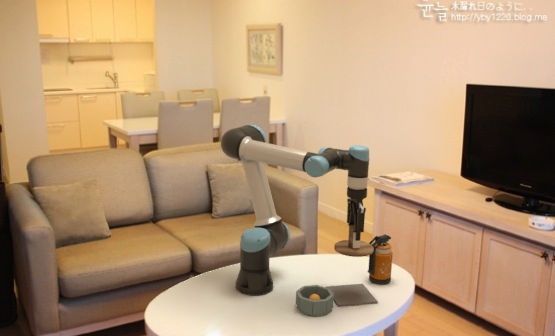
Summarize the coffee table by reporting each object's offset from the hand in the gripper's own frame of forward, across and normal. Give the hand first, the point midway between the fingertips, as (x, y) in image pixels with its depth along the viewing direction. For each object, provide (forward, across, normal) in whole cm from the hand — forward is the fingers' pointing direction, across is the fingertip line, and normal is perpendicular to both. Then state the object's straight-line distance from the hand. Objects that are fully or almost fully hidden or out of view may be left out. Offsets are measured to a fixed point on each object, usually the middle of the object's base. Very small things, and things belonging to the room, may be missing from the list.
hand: (354, 245), depth 216 cm
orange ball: (+18, -7, +17) cm, 26 cm away
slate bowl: (+21, -7, +17) cm, 28 cm away
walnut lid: (+2, 0, 0) cm, 2 cm away
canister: (+21, +11, -16) cm, 29 cm away
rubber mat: (+21, 0, 0) cm, 21 cm away
